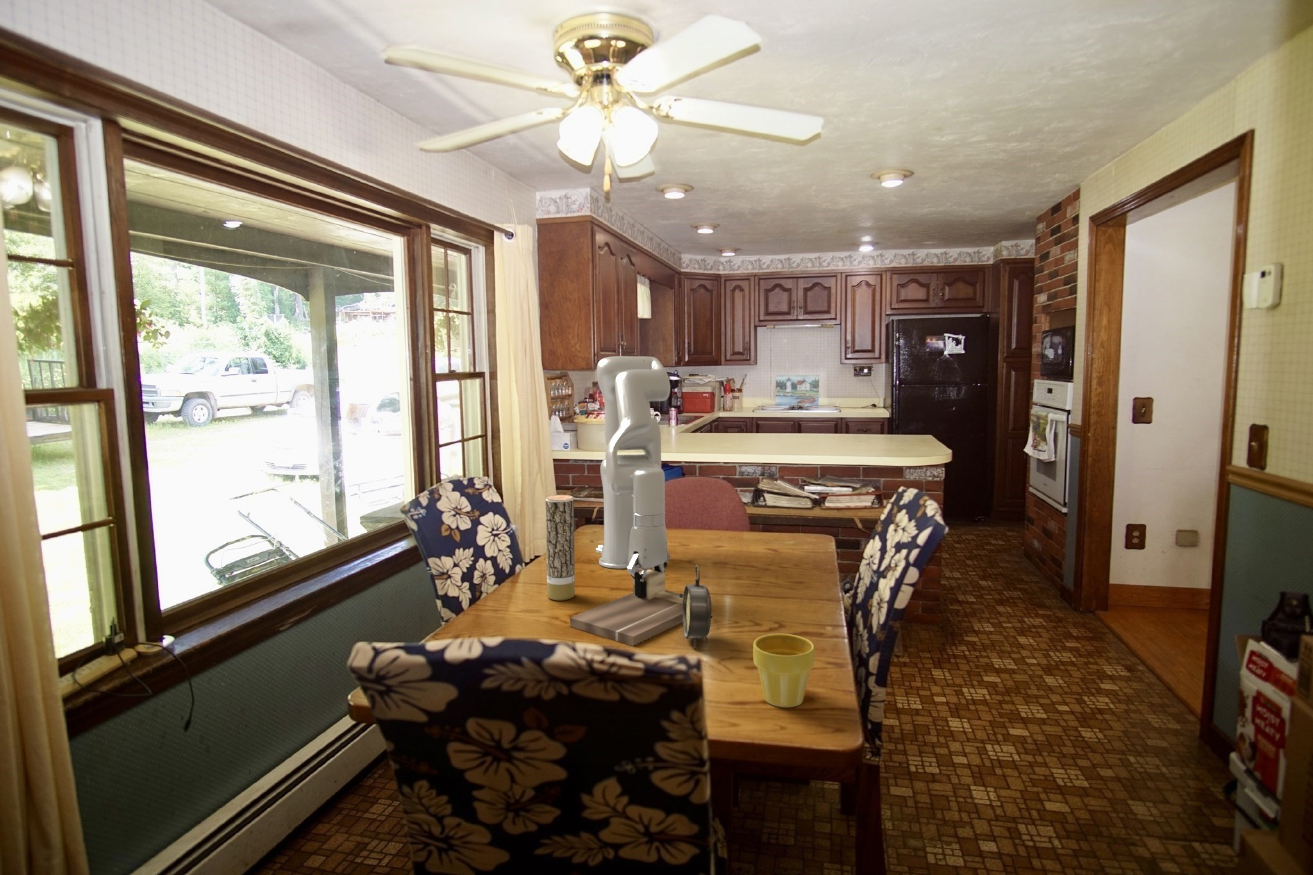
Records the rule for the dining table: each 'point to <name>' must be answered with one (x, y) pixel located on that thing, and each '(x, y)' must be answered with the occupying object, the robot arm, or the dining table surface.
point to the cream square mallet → (658, 587)
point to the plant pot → (783, 667)
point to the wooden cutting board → (630, 618)
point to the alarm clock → (696, 611)
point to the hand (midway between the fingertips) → (649, 592)
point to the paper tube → (560, 547)
